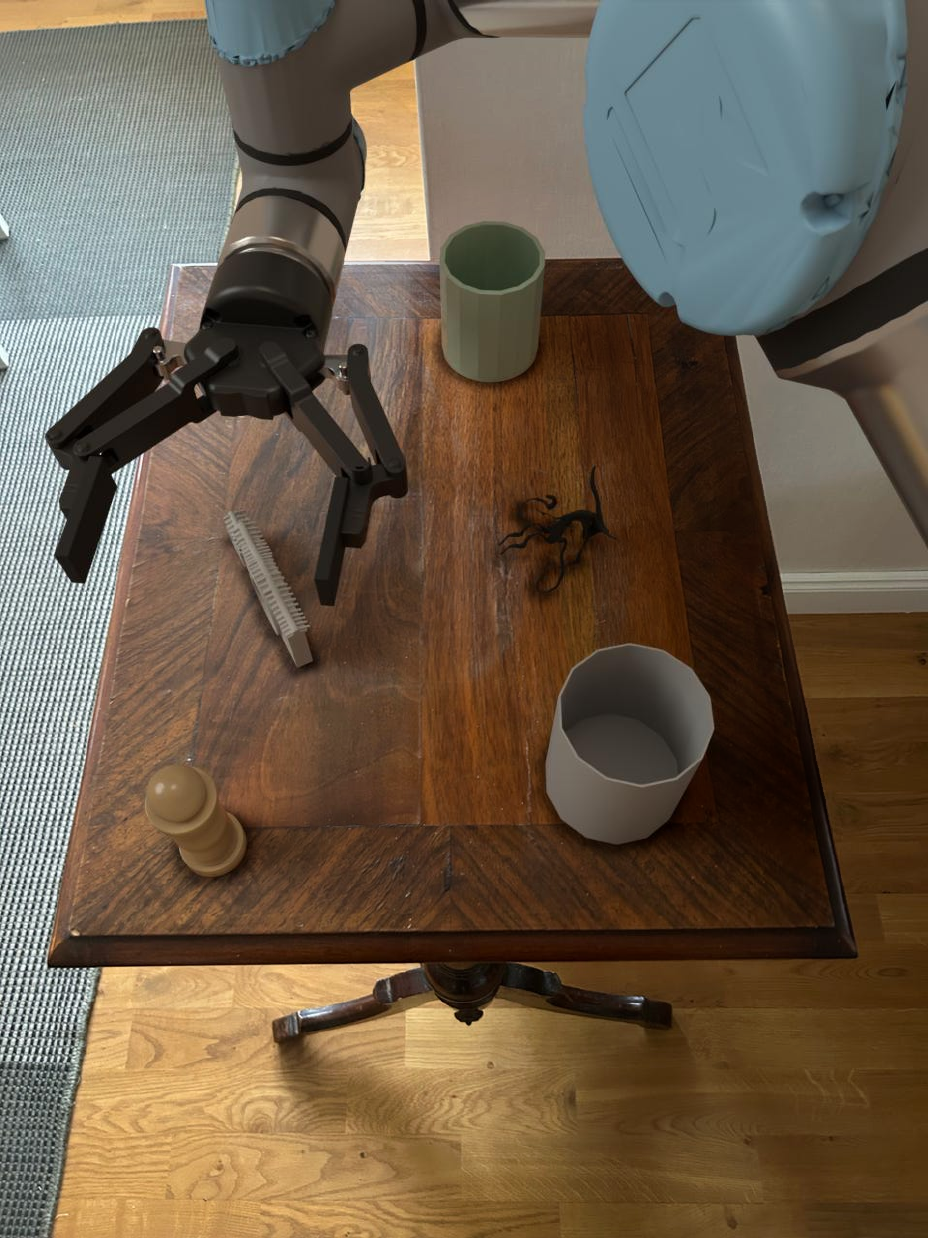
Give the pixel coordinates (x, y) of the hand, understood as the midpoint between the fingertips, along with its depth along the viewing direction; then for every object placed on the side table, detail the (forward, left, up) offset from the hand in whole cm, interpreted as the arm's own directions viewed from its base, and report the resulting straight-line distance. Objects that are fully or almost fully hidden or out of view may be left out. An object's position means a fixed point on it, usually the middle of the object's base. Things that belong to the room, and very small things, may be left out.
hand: (196, 582), depth 53 cm
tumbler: (-14, -32, -15) cm, 38 cm away
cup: (-23, +4, -15) cm, 28 cm away
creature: (-19, -13, -15) cm, 28 cm away
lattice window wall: (-1, -8, -15) cm, 17 cm away
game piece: (+1, +10, -15) cm, 18 cm away
